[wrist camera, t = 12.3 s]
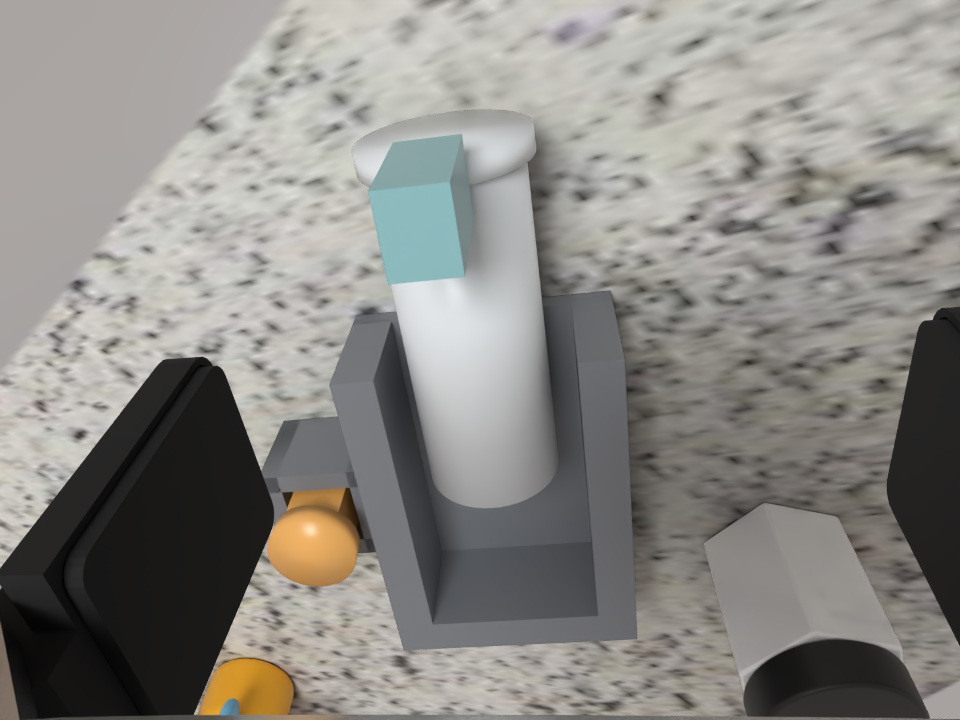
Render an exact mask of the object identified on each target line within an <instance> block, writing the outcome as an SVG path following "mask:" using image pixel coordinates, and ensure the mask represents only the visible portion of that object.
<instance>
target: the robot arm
mask: <svg viewBox="0 0 960 720" xmlns="http://www.w3.org/2000/svg"><path fill="white" fill-rule="evenodd" d="M887 495H888V500H889V504H890V507H891V509H892V511H893V513H894V515H895V517H896V519H897V521H898V523H899V525H900V527H901V529H902V531H903V533H904V535H905V537H906V539H907V541H908V543H909V545H910V547H911V549H912V551H913V553H914V555H915V557H916V559H917V561H918V563H919V565H920V567H921V569H922V571H923V573H924V575H925V577H926V579H927V581H928V583H929V585H930V587H931V589H932V591H933V593H934V595H935V597H936V599H937V601H938V603H939V605H940V607H941V609H942V611H943V613H944V615H945V617H946V619H947V621H948V623H949V625H950V627H951V629H952V631H953V633H954V635H955V637H956V639H957V641H958V643H959V645H960V307H953V308H941V309H940V310H938V311H937V312H936V314H935V316H934V318H933V320H928V321H924V322H922V323H921V325H920V326H919V329H918V332H917V337H916V342H915V346H914V351H913V356H912V361H911V366H910V371H909V376H908V381H907V386H906V390H905V395H904V400H903V405H902V410H901V415H900V420H899V425H898V429H897V434H896V439H895V444H894V449H893V454H892V459H891V464H890V468H889V473H888V478H887ZM273 523H274V506H273V502H272V499H271V497H270V494H269V491H268V488H267V486H266V483H265V480H264V478H263V475H262V472H261V470H260V467H259V464H258V462H257V459H256V456H255V453H254V451H253V448H252V445H251V443H250V440H249V437H248V435H247V432H246V429H245V427H244V424H243V421H242V418H241V416H240V413H239V410H238V408H237V405H236V402H235V400H234V397H233V394H232V392H231V389H230V386H229V383H228V381H227V378H226V375H225V373H224V371H223V370H222V369H221V368H220V367H218V366H213V365H212V364H211V362H210V361H209V360H208V359H207V358H204V357H193V358H177V359H166V360H163V361H162V362H160V363H159V364H158V366H157V367H156V368H155V369H154V371H153V372H152V373H151V375H150V376H149V377H148V378H147V380H146V381H145V382H144V384H143V385H142V386H141V388H140V389H139V390H138V391H137V393H136V394H135V395H134V397H133V398H132V399H131V400H130V402H129V403H128V404H127V406H126V407H125V408H124V409H123V411H122V412H121V413H120V415H119V416H118V417H117V418H116V420H115V421H114V422H113V424H112V425H111V426H110V427H109V429H108V430H107V431H106V433H105V434H104V435H103V437H102V438H101V439H100V440H99V442H98V443H97V444H96V446H95V447H94V448H93V449H92V451H91V452H90V453H89V455H88V456H87V457H86V458H85V460H84V461H83V462H82V464H81V465H80V466H79V467H78V469H77V470H76V471H75V473H74V474H73V475H72V476H71V478H70V479H69V480H68V482H67V483H66V484H65V486H64V487H63V488H62V489H61V491H60V492H59V493H58V495H57V496H56V497H55V498H54V500H53V501H52V502H51V504H50V505H49V506H48V507H47V509H46V510H45V511H44V513H43V514H42V515H41V516H40V518H39V519H38V520H37V522H36V523H35V524H34V525H33V527H32V528H31V529H30V531H29V532H28V533H27V534H26V536H25V537H24V538H23V540H22V541H21V542H20V544H19V545H18V546H17V547H16V549H15V550H14V551H13V553H12V554H11V555H10V556H9V558H8V559H7V560H6V562H5V563H4V564H3V565H2V567H1V568H0V585H1V587H2V588H1V590H0V720H959V719H921V718H840V717H733V716H593V715H194V712H195V710H196V708H197V705H198V703H199V700H200V698H201V696H202V693H203V691H204V689H205V686H206V684H207V681H208V679H209V677H210V674H211V672H212V670H213V667H214V665H215V663H216V660H217V658H218V655H219V653H220V651H221V648H222V646H223V644H224V641H225V639H226V636H227V634H228V632H229V629H230V627H231V625H232V622H233V620H234V618H235V615H236V613H237V610H238V608H239V606H240V603H241V601H242V599H243V596H244V594H245V591H246V589H247V587H248V584H249V582H250V580H251V577H252V575H253V573H254V570H255V568H256V565H257V563H258V561H259V558H260V556H261V554H262V551H263V549H264V546H265V544H266V542H267V539H268V537H269V535H270V532H271V530H272V527H273Z"/></svg>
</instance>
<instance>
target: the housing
mask: <svg viewBox="0 0 960 720" xmlns="http://www.w3.org/2000/svg"><path fill="white" fill-rule="evenodd" d="M542 306H543V315H544V325H545V335H546V344H547V354H548V363H549V373H550V383H551V392H552V402H553V411H554V421H555V431H556V440H557V450H558V459H559V461H558V468H557V472H556V474H555V476H554V477H553V479H552V480H551V482H550V483H549V484H548V485H547V486H546V487H545V488H544V489H543V490H542V491H540V492H539V493H537V494H536V495H534V496H532V497H531V498H529V499H527V500H524V501H522V502H519V503H516V504H513V505H509V506H504V507H498V508H474V507H468V506H464V505H461V504H458V503H455V502H453V501H451V500H449V499H448V498H446V497H445V496H443V495H442V494H441V493H440V492H439V491H438V490H437V488H436V486H435V485H434V482H433V479H432V475H431V470H430V465H429V461H428V456H427V451H426V447H425V442H424V437H423V433H422V428H421V423H420V419H419V414H418V409H417V405H416V400H415V395H414V391H413V386H412V381H411V377H410V372H409V367H408V363H407V358H406V353H405V349H404V344H403V339H402V335H401V330H400V325H399V321H398V316H397V312H387V313H377V314H367V315H356V318H355V320H354V323H353V325H352V328H351V331H350V333H349V336H348V338H347V341H346V343H345V346H344V348H343V351H342V354H341V356H340V359H339V361H338V364H337V366H336V369H335V372H334V374H333V377H332V379H331V382H330V384H329V385H330V389H331V392H332V396H333V400H334V403H335V407H336V410H337V414H338V417H328V418H316V419H304V420H292V421H283V424H282V426H281V428H280V430H279V433H278V435H277V437H276V439H275V442H274V444H273V446H272V448H271V450H270V453H269V455H268V457H267V459H266V462H265V464H264V466H263V468H262V471H261V472H262V475H263V478H264V480H265V483H266V486H267V488H268V491H269V494H270V497H271V499H272V502H273V506H274V525H275V523H276V521H277V520H278V518H279V517H280V516H281V515H282V514H283V513H285V512H286V510H287V508H288V505H289V502H290V500H291V497H292V495H293V492H296V491H310V490H324V489H338V488H350V491H351V494H352V498H353V501H354V505H355V508H356V512H357V515H358V519H359V523H358V526H357V531H358V534H359V537H360V547H359V551H358V553H370V552H376V553H377V556H378V560H379V564H380V567H381V571H382V574H383V578H384V581H385V585H386V589H387V592H388V596H389V599H390V603H391V606H392V610H393V613H394V617H395V621H396V624H397V628H398V631H399V635H400V638H401V642H402V646H403V649H404V650H420V649H441V648H461V647H482V646H503V645H524V644H545V643H566V642H587V641H608V640H629V639H637V622H636V599H635V577H634V554H633V532H632V509H631V486H630V464H629V441H628V419H627V396H626V374H625V357H624V353H623V348H622V343H621V338H620V334H619V329H618V324H617V319H616V315H615V310H614V305H613V300H612V296H611V291H602V292H592V293H582V294H572V295H561V296H551V297H542Z"/></svg>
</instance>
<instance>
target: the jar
mask: <svg viewBox="0 0 960 720" xmlns="http://www.w3.org/2000/svg"><path fill="white" fill-rule="evenodd" d="M704 549H705V552H706V556H707V560H708V564H709V568H710V572H711V576H712V580H713V584H714V587H715V591H716V595H717V599H718V603H719V606H720V610H721V614H722V617H723V621H724V625H725V628H726V632H727V636H728V640H729V643H730V647H731V651H732V654H733V658H734V662H735V665H736V669H737V673H738V677H739V680H740V684H741V688H742V691H743V695H744V697H743V700H744V706H745V710H746V714H747V717H840V718H921V719H930V717H929V714H928V711H927V710H926V707H925V705H924V703H923V701H922V699H921V697H920V695H919V693H918V690H917V688H916V686H915V684H914V682H913V680H912V678H911V676H910V674H909V672H908V670H907V668H906V666H905V665H904V659H903V648H902V646H901V644H900V642H899V640H898V637H897V635H896V633H895V631H894V629H893V627H892V625H891V623H890V621H889V619H888V617H887V615H886V613H885V611H884V609H883V607H882V605H881V603H880V601H879V599H878V597H877V595H876V593H875V591H874V589H873V587H872V585H871V583H870V581H869V579H868V577H867V575H866V573H865V571H864V569H863V567H862V565H861V563H860V561H859V559H858V557H857V555H856V553H855V551H854V549H853V547H852V545H851V543H850V541H849V539H848V536H847V534H846V532H845V530H844V528H843V526H842V524H841V522H840V520H839V519H838V517H836V516H832V515H827V514H822V513H817V512H811V511H806V510H801V509H795V508H790V507H785V506H780V505H774V504H769V503H762V504H761V505H759V506H758V507H756V508H755V509H753V510H752V511H750V512H749V513H747V514H746V515H744V516H743V517H741V518H740V519H738V520H737V521H736V522H734V523H733V524H731V525H730V526H728V527H727V528H725V529H724V530H722V531H721V532H719V533H718V534H716V535H715V536H713V537H712V538H710V539H709V540H707V541H706V542H705V543H704Z"/></svg>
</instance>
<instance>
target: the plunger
mask: <svg viewBox="0 0 960 720" xmlns="http://www.w3.org/2000/svg"><path fill="white" fill-rule="evenodd" d="M358 523H359V519H358V515H357V512H356V508H355V505H354V501H353V498H352V494H351V491H350V488H338V489H324V490H310V491H296V492H293V495H292V497H291V500H290V502H289V505H288V508H287V510H286V512H285V513H283V514H282V515H281V516H280V517H279V518H278V520H277V521H276V523H275V526H274V528H273V531H272V533H271V536H270V539H269V541H268V545H267V554H268V557H269V560H270V562H271V564H272V565H273V566H274V568H275V569H276V570H277V571H278V572H279V573H280V574H282V575H283V576H285V577H286V578H288V579H290V580H292V581H294V582H297V583H299V584H303V585H308V586H316V587H317V586H329V585H333V584H336V583H339V582H341V581H343V580H344V579H346V578H347V577H348V576H349V575H350V574H351V573H352V571H353V569H354V567H355V563H356V559H357V555H358V551H359V547H360V537H359V534H358V531H357V526H358Z"/></svg>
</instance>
